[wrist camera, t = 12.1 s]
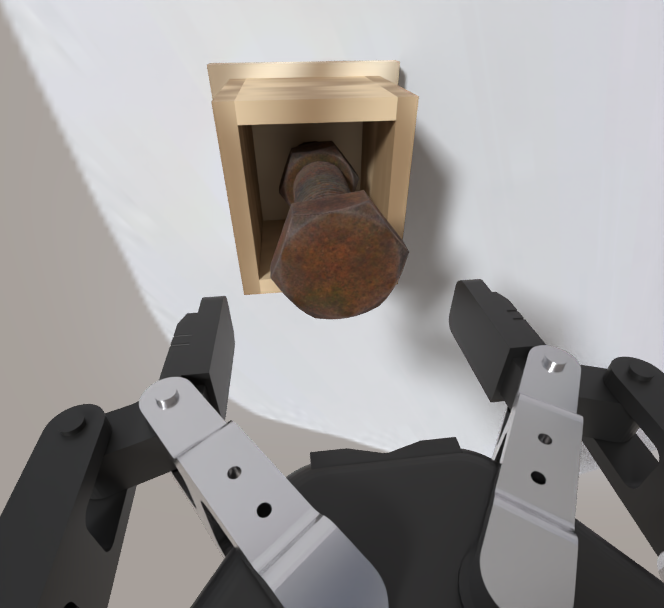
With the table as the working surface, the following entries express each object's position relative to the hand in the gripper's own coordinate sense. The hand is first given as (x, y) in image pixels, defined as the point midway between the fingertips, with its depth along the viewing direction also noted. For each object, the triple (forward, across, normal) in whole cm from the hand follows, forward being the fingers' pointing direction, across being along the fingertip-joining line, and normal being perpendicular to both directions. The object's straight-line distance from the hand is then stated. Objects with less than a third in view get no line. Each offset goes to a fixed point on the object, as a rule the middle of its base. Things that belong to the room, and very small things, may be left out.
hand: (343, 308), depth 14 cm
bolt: (+18, 0, 0) cm, 18 cm away
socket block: (+19, 0, 0) cm, 19 cm away
